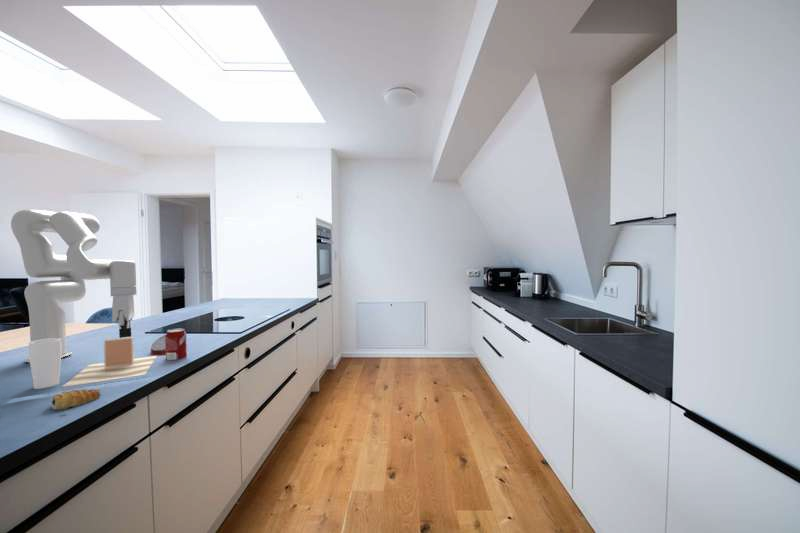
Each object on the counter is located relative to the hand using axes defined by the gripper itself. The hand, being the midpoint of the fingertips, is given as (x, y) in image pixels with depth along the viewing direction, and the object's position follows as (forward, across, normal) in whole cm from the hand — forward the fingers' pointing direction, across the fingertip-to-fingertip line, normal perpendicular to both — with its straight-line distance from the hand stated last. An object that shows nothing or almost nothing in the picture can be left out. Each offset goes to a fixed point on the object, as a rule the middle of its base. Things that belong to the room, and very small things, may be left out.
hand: (125, 338), depth 120 cm
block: (+8, +8, 0) cm, 11 cm away
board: (+9, +13, 0) cm, 16 cm away
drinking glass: (+10, +20, -15) cm, 27 cm away
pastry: (+10, +38, -4) cm, 40 cm away
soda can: (+10, +8, +17) cm, 21 cm away
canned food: (+10, -5, +12) cm, 16 cm away
